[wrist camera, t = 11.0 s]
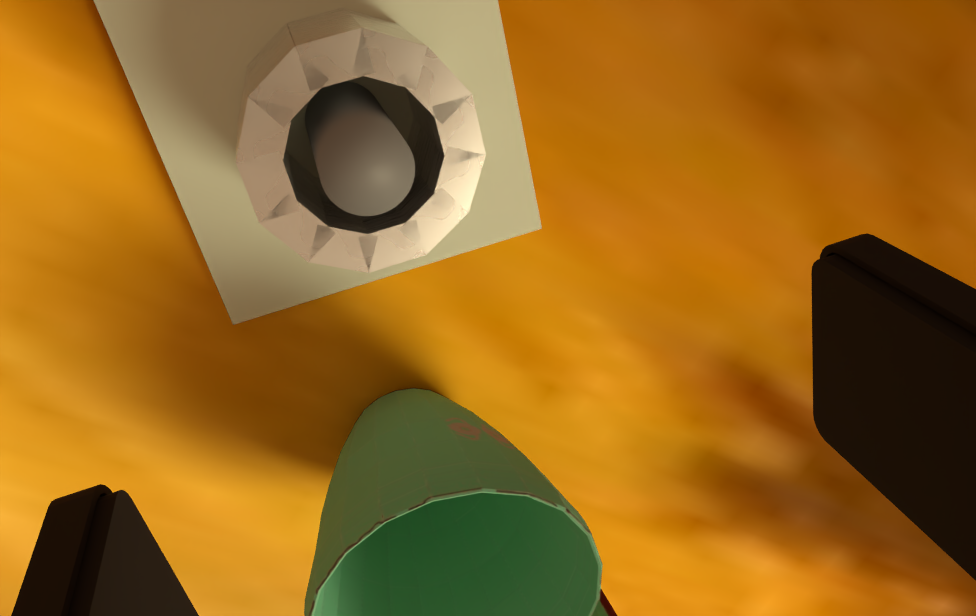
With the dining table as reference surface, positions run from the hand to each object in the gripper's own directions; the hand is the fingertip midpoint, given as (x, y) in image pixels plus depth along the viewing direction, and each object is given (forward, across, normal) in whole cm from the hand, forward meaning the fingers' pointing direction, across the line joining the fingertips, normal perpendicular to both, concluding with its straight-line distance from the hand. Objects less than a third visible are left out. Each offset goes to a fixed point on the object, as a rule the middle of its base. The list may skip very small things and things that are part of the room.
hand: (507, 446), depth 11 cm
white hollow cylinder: (+19, 0, 0) cm, 19 cm away
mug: (+20, 0, +16) cm, 26 cm away
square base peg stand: (+20, 0, 0) cm, 20 cm away
